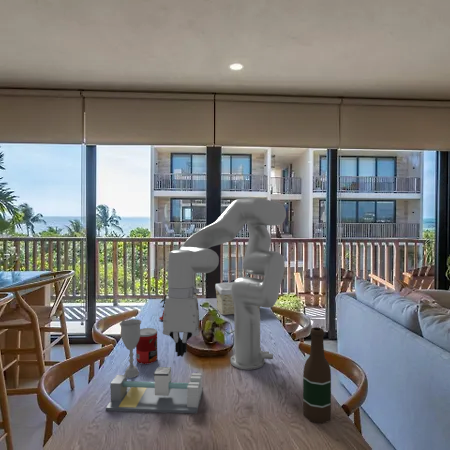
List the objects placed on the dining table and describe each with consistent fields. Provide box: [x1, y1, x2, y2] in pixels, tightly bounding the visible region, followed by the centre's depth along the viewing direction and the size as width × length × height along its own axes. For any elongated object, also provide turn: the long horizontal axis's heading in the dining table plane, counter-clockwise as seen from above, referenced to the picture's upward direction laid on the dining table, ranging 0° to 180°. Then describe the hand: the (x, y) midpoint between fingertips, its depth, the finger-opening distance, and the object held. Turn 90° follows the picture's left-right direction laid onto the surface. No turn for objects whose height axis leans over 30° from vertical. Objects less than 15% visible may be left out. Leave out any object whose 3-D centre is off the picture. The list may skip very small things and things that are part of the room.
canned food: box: [135, 327, 158, 365], centre depth 125 cm, size 8×8×11 cm
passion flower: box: [159, 289, 168, 307], centre depth 196 cm, size 11×11×12 cm
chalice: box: [119, 319, 142, 379], centre depth 114 cm, size 7×7×18 cm
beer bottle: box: [302, 326, 332, 424], centre depth 90 cm, size 8×8×24 cm
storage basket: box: [214, 282, 261, 316], centre depth 186 cm, size 24×16×15 cm
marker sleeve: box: [153, 366, 172, 396], centre depth 98 cm, size 4×4×6 cm
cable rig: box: [105, 372, 204, 414], centre depth 99 cm, size 26×12×6 cm, turn 86°
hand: (180, 354), depth 97 cm, fingers closed
